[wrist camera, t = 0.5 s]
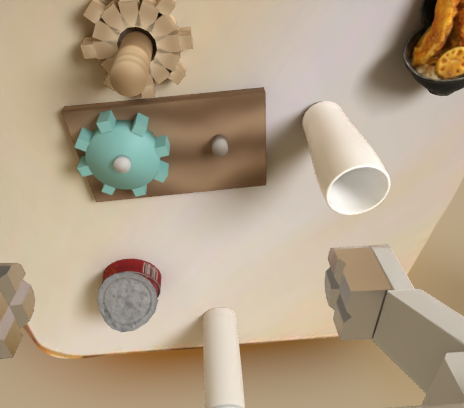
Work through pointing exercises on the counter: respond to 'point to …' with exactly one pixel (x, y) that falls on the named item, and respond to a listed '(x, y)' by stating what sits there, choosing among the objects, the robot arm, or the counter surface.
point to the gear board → (191, 139)
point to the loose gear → (136, 44)
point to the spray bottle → (222, 360)
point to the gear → (123, 154)
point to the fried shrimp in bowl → (438, 47)
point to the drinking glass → (343, 161)
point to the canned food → (129, 294)
